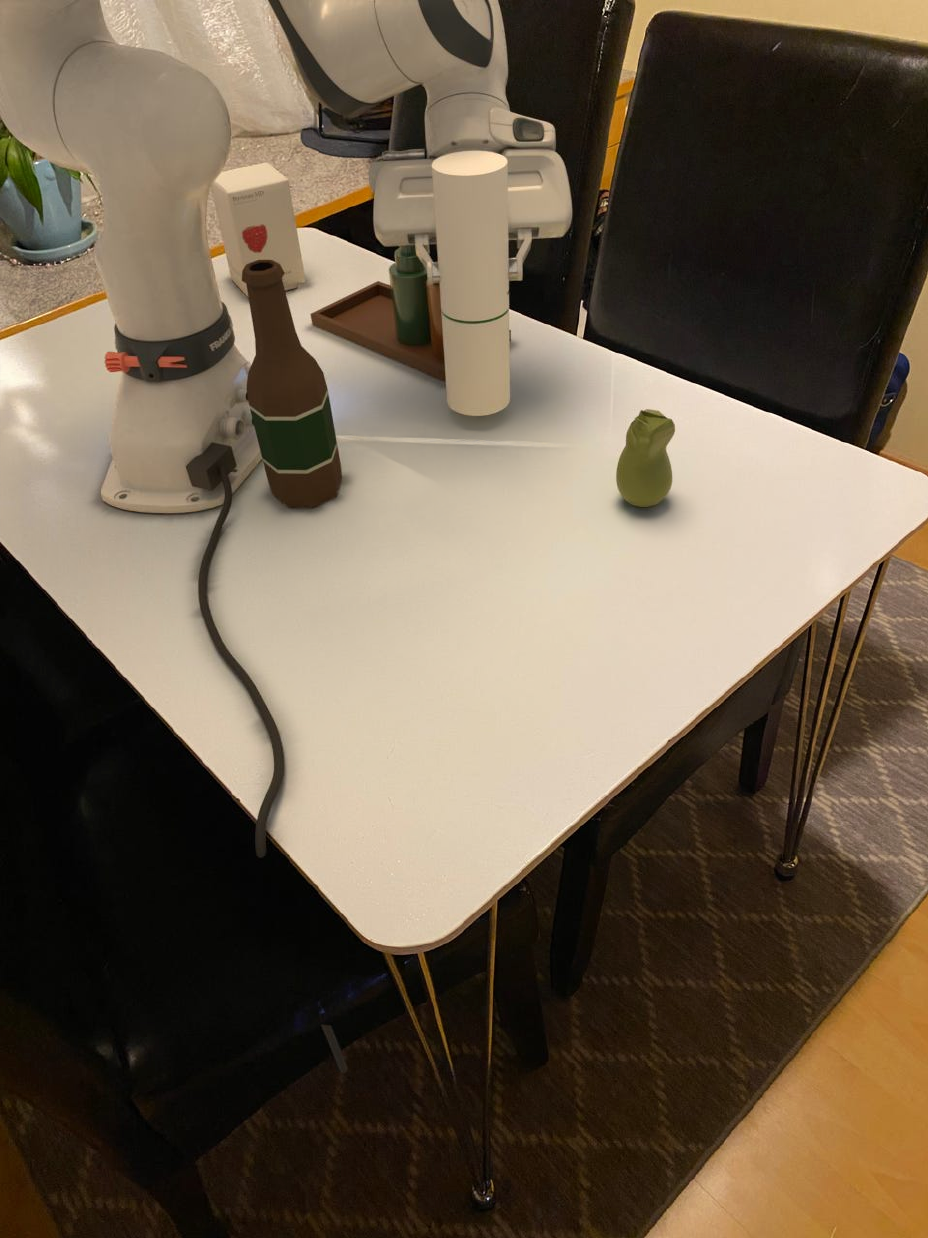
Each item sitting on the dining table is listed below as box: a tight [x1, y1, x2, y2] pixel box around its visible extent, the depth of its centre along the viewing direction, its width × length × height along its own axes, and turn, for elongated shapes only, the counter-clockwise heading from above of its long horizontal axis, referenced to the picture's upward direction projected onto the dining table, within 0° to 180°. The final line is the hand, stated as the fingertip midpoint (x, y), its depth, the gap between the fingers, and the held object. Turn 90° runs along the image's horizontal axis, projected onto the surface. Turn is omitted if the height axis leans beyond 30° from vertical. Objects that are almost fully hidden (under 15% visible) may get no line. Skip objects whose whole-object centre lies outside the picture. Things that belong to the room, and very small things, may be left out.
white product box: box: [210, 161, 307, 298], centre depth 128 cm, size 9×9×15 cm
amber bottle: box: [426, 244, 445, 360], centre depth 109 cm, size 6×6×14 cm
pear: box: [615, 408, 676, 508], centre depth 87 cm, size 6×5×10 cm
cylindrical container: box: [432, 151, 511, 417], centre depth 93 cm, size 7×7×25 cm
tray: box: [310, 280, 512, 382], centre depth 118 cm, size 25×13×2 cm, turn 47°
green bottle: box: [388, 245, 431, 346], centre depth 113 cm, size 6×6×14 cm
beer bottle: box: [242, 260, 343, 509], centre depth 87 cm, size 8×8×24 cm
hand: (475, 280), depth 92 cm, fingers closed on cylindrical container, 7 cm apart
